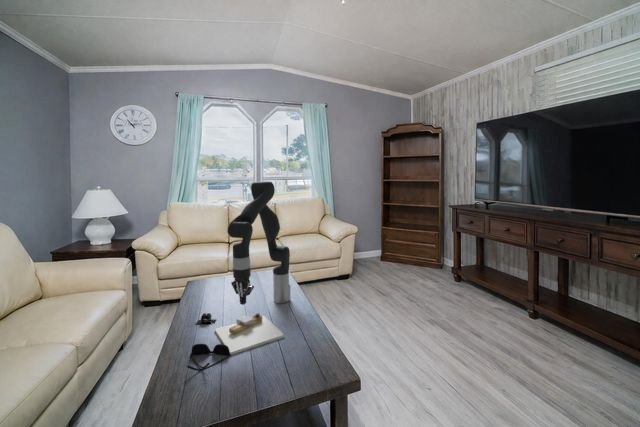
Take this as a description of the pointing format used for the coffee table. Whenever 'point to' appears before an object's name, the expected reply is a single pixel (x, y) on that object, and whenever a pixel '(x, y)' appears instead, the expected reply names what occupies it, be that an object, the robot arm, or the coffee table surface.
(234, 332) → the oak link
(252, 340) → the board
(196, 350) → the sunglasses
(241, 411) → the coffee table surface
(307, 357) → the coffee table surface
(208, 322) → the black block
